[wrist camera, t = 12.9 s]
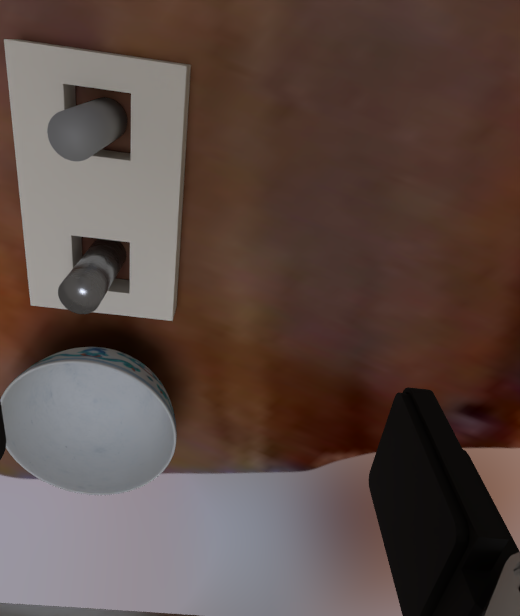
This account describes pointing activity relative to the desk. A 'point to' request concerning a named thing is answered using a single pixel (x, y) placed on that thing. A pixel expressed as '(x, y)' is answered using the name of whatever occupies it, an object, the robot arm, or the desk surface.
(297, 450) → the desk surface
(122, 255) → the steel pin
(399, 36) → the desk surface
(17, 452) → the chinaware
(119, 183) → the pin board
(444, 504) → the robot arm
